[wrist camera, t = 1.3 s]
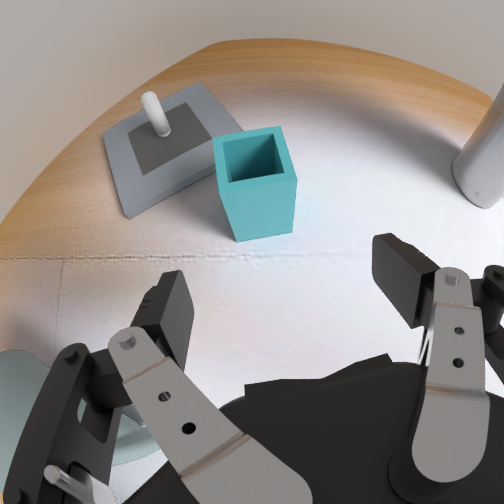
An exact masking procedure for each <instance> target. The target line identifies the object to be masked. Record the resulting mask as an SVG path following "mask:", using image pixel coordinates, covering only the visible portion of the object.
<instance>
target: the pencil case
mask: <svg viewBox="0 0 504 504" xmlns="http://www.w3.org/2000/svg"><path fill="white" fill-rule="evenodd" d="M50 369H51V368H50V367H48V366H47V365H46V364H44V363H43V362H42V361H41V360H39V359H38V358H37V357H36V356H34V355H33V354H31V353H29V352H26V351H23V350H8V351H4V352H1V353H0V492H1V493H2V494H3V490H4V486H5V482H6V479H7V475H8V472H9V468H10V465H11V462H12V459H13V456H14V453H15V450H16V447H17V444H18V442H19V439H20V436H21V434H22V431H23V429H24V426H25V424H26V421H27V419H28V416H29V414H30V412H31V409H32V407H33V405H34V403H35V400H36V398H37V396H38V394H39V392H40V390H41V388H42V385H43V383H44V381H45V379H46V377H47V375H48V373H49V371H50ZM85 407H86V402H85V401H84V400H83V399H81V402H80V405H79V407H78V412H77V415H78V419H79V422H81V419H82V416H83V413H84V410H85ZM159 449H160V447H159V445H158V444H157V442H156V441H155V439H154V438H153V436H152V435H151V433H150V431H149V430H148V428H146V427H140V425H139V424H138V423H137V422H136V421H134V420H132V419H131V418H129V417H127V416H126V415H124V414H122V415H121V420H120V424H119V429H118V434H117V439H116V444H115V449H114V454H113V460H112V466H115V465H119V464H123V463H127V462H131V461H134V460H137V459H140V458H143V457H145V456H148V455H150V454H152V453H154V452H156V451H158V450H159Z"/></svg>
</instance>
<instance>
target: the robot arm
mask: <svg viewBox="0 0 504 504" xmlns="http://www.w3.org/2000/svg"><path fill="white" fill-rule="evenodd" d="M452 170H453V175H454V178H455V181H456V183H457V185H458V187H459V188H460V190H461V191H462V192H463V194H464V195H465V196H466V197H467V198H468V199H469V200H470V201H471V202H472V203H474V204H475V205H477V206H479V207H481V208H490V207H492V206H493V205H494V204H495V203H497V202H498V201H499V200H500V199H501V198H502V197H503V196H504V84H503V86H502V87H501V89H500V91H499V93H498V94H497V96H496V98H495V100H494V101H493V103H492V105H491V106H490V108H489V110H488V111H487V113H486V114H485V116H484V118H483V119H482V121H481V122H480V124H479V125H478V127H477V128H476V130H475V131H474V133H473V134H472V136H471V137H470V139H469V140H468V142H467V143H466V144H465V146H464V147H463V149H462V150H461V152H460V153H459V154H458V156H457V157H456V159H455V160H454V161H453V165H452ZM372 275H373V279H374V281H375V283H376V284H377V285H378V287H379V288H380V289H381V290H382V292H383V293H384V294H385V295H386V297H387V298H388V299H389V300H390V302H391V303H392V304H393V306H394V307H395V308H396V309H397V311H398V312H399V313H400V315H401V316H402V317H403V319H404V320H405V321H406V323H407V324H408V325H409V327H410V328H411V329H413V328H416V327H419V326H422V325H423V326H424V330H423V334H422V339H421V345H420V350H419V355H418V360H417V364H416V363H409V362H392V360H391V359H390V357H389V355H388V353H386V354H383V355H379V356H376V357H373V358H369V359H366V360H362V361H359V362H355V363H353V364H351V365H349V366H347V367H345V368H343V369H341V370H339V371H337V372H335V373H333V374H331V375H329V376H327V377H325V378H321V379H279V380H273V381H267V382H260V383H254V384H246V385H244V387H245V396H242V397H239V398H237V399H235V400H232V401H230V402H229V403H227V404H225V405H223V406H222V407H221V408H219V409H217V408H216V407H215V406H214V405H213V404H212V403H211V402H210V400H209V399H208V398H207V397H206V396H205V395H204V394H203V393H202V392H201V391H200V390H199V389H198V388H197V387H196V386H195V385H194V384H193V382H192V381H191V380H190V379H189V378H188V377H187V376H186V375H185V374H184V369H185V363H186V357H187V351H188V346H189V340H190V335H191V329H192V324H193V319H194V307H193V302H192V299H191V296H190V293H189V290H188V287H187V284H186V281H185V278H184V275H183V272H182V271H181V270H177V271H171V272H165V273H163V274H162V276H161V278H160V280H159V282H158V284H157V286H153V287H152V288H151V289H150V290H149V291H148V292H147V293H146V294H145V296H144V298H143V300H142V303H141V304H140V306H139V309H138V310H137V312H136V315H135V317H134V319H133V321H132V323H131V325H130V327H128V328H125V329H123V330H120V331H119V332H117V333H116V334H115V335H114V336H113V337H112V338H111V339H110V341H109V343H108V348H107V349H104V350H100V351H97V352H94V353H90V351H89V350H88V348H87V346H86V345H85V344H83V343H75V344H72V345H69V346H68V347H66V348H65V349H63V350H62V351H61V352H60V353H59V355H58V356H57V358H56V360H55V362H54V364H53V366H52V367H51V369H50V371H49V373H48V375H47V377H46V379H45V381H44V383H43V385H42V388H41V390H40V392H39V394H38V396H37V398H36V400H35V403H34V405H33V407H32V409H31V412H30V414H29V416H28V419H27V421H26V424H25V426H24V429H23V431H22V434H21V436H20V439H19V442H18V444H17V447H16V450H15V453H14V456H13V459H12V462H11V465H10V468H9V472H8V475H7V479H6V482H5V486H4V490H3V502H4V504H116V503H115V496H114V494H113V492H112V490H111V489H110V488H109V487H108V485H109V478H110V472H111V466H112V460H113V454H114V449H115V444H116V439H117V434H118V429H119V424H120V420H121V415H122V411H123V406H126V405H130V404H134V406H135V408H136V410H137V411H138V413H139V415H140V417H141V418H142V420H143V422H144V423H145V425H146V427H147V428H148V430H149V431H150V433H151V435H152V436H153V438H154V439H155V441H156V442H157V444H158V445H159V447H160V448H161V450H162V451H163V453H164V454H165V456H166V457H167V459H168V461H167V462H166V463H165V464H164V465H163V466H162V467H161V468H160V469H159V470H158V471H157V472H156V473H155V474H154V475H153V476H152V477H151V478H150V479H149V480H148V481H147V482H145V483H144V484H143V485H142V486H141V487H140V488H139V489H138V490H137V491H136V492H135V493H134V494H133V495H131V496H130V497H129V498H128V499H127V500H126V501H125V502H124V503H122V504H504V398H503V397H500V396H498V395H495V394H492V393H490V392H487V391H485V358H486V359H487V361H488V362H489V364H490V365H491V367H492V368H493V370H494V371H495V372H496V374H497V375H498V377H499V378H500V380H501V381H502V383H503V385H504V328H503V327H502V326H501V325H500V321H501V318H502V316H503V313H504V267H502V266H498V265H490V266H487V267H486V268H485V270H484V274H483V278H482V279H470V278H469V276H468V275H467V274H466V273H465V272H464V271H462V270H460V269H457V268H452V267H444V268H440V267H439V266H438V265H437V264H435V263H434V262H433V261H432V260H431V259H429V258H428V257H427V256H426V257H425V255H424V254H423V253H422V252H420V251H419V250H418V249H417V248H415V247H414V246H413V245H410V244H408V243H405V242H403V241H401V240H400V239H399V238H397V237H396V236H395V235H393V234H392V233H386V234H380V235H375V236H374V237H373V242H372ZM81 399H83V400H84V401H85V402H86V407H85V410H84V413H83V416H82V419H81V422H79V419H78V415H77V412H78V407H79V405H80V402H81Z"/></svg>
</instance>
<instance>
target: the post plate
mask: <svg viewBox="0 0 504 504" xmlns="http://www.w3.org/2000/svg"><path fill="white" fill-rule="evenodd" d="M141 103H142V105H143V107H144V109H142V110H141V111H139V112H137V113H135V114H133V115H132V116H130V117H128V118H126V119H125V120H123V121H121V122H120V123H118V124H116V125H115V126H113V127H112V128H110V129H108V130H107V131H105V132H104V133H102V134H103V139H104V143H105V147H106V151H107V155H108V159H109V163H110V167H111V170H112V174H113V178H114V181H115V185H116V188H117V191H118V195H119V198H120V201H121V205H122V208H123V211H124V214H125V215H126V216H127V217H128V218H129V219H132V218H134V217H135V216H137V215H139V214H140V213H142V212H144V211H145V210H147V209H149V208H150V207H152V206H154V205H155V204H157V203H159V202H160V201H162V200H164V199H166V198H167V197H169V196H171V195H173V194H174V193H176V192H178V191H180V190H182V189H183V188H185V187H187V186H189V185H191V184H193V183H194V182H196V181H198V180H200V179H202V178H204V177H206V176H208V175H210V174H212V173H213V172H215V171H216V165H215V156H214V147H213V138H214V137H218V136H223V135H228V134H233V133H239V132H244V131H243V129H242V128H241V127H240V126H239V125H238V124H237V122H236V121H235V120H234V119H233V118H232V116H231V115H230V114H229V113H228V112H227V111H226V110H225V108H224V107H223V106H222V105H221V104H220V103H219V102H218V100H217V99H216V98H215V97H214V96H213V95H212V94H211V93H210V91H209V90H208V89H207V88H206V87H205V86H204V85H203V84H202V83H201V82H198V83H196V84H194V85H191V86H189V87H187V88H185V89H182V90H180V91H178V92H176V93H174V94H172V95H170V96H168V97H166V98H164V99H162V100H160V101H159V100H158V98H157V96H156V94H155V93H154V92H152V91H148V92H145V93H144V94H143V95H142V97H141Z"/></svg>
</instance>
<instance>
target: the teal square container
mask: <svg viewBox="0 0 504 504" xmlns="http://www.w3.org/2000/svg"><path fill="white" fill-rule="evenodd" d="M213 147H214V156H215V165H216V173H217V182H218V190H219V195H220V198H221V201H222V203H223V206H224V209H225V211H226V214H227V217H228V220H229V222H230V225H231V228H232V230H233V233H234V236H235V239H236V241H237V242H242V241H247V240H253V239H258V238H264V237H269V236H275V235H280V234H286V233H292V228H293V218H294V209H295V198H296V188H297V177H296V174H295V170H294V167H293V164H292V161H291V158H290V154H289V151H288V148H287V145H286V142H285V139H284V136H283V133H282V130H281V127H280V126H276V127H269V128H262V129H256V130H250V131H244V132H239V133H233V134H228V135H223V136H218V137H214V138H213Z"/></svg>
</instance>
